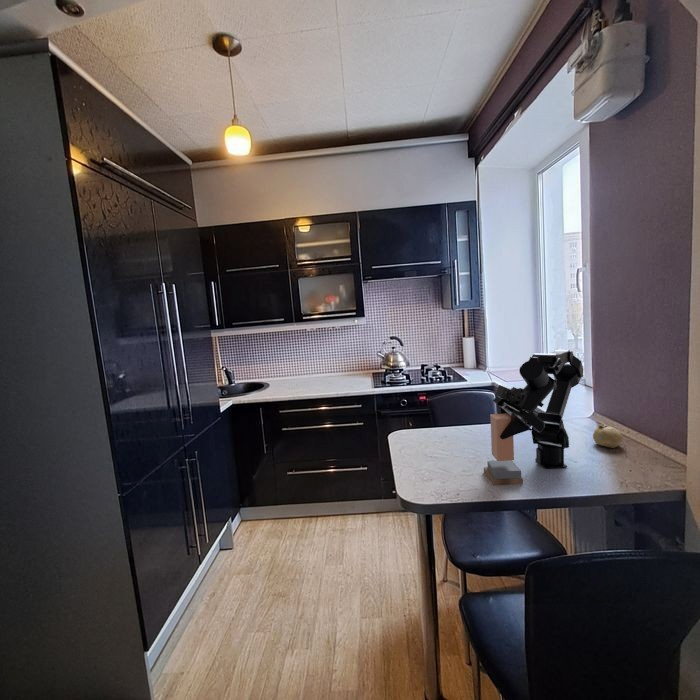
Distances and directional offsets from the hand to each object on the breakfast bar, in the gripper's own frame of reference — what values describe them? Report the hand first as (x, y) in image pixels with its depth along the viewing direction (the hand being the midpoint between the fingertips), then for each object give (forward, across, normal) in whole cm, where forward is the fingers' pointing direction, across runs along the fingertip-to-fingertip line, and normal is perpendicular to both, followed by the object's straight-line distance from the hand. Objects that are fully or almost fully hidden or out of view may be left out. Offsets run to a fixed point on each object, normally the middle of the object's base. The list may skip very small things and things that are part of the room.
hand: (497, 435), depth 103 cm
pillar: (+4, 0, +6) cm, 7 cm away
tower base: (+9, 0, +10) cm, 13 cm away
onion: (-22, -14, +40) cm, 48 cm away
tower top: (+7, 0, +9) cm, 11 cm away
